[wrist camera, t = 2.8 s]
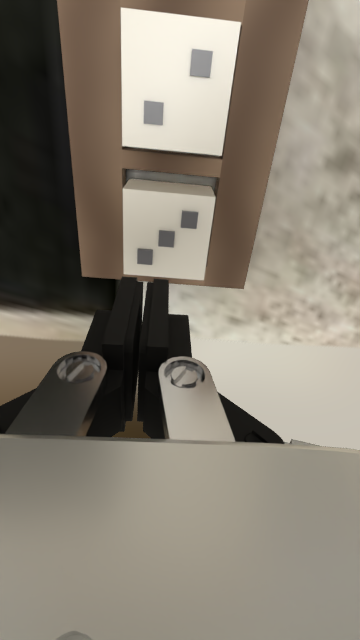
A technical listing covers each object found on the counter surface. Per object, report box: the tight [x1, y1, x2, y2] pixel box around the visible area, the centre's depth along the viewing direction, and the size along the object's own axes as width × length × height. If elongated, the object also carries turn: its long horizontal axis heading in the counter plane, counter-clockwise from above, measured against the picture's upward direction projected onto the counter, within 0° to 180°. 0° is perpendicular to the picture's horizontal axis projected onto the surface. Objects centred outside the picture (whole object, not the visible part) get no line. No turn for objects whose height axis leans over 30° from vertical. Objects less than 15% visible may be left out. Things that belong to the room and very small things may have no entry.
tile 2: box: [121, 7, 241, 156], centre depth 16 cm, size 5×5×3 cm
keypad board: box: [57, 0, 309, 289], centre depth 18 cm, size 12×23×2 cm, turn 175°
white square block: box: [123, 179, 216, 280], centre depth 19 cm, size 5×5×3 cm
